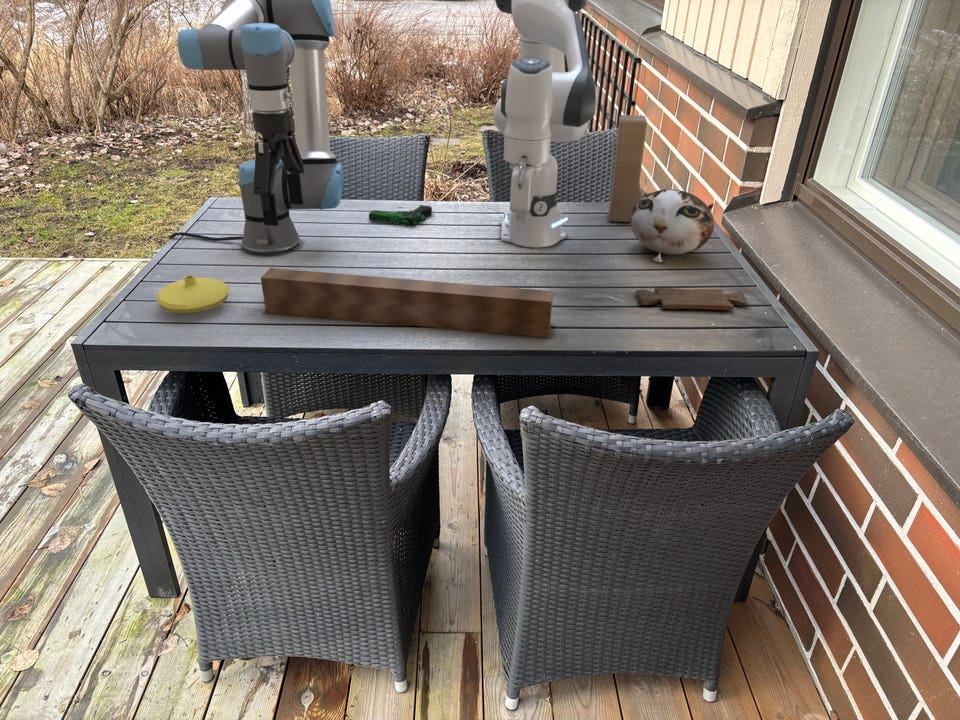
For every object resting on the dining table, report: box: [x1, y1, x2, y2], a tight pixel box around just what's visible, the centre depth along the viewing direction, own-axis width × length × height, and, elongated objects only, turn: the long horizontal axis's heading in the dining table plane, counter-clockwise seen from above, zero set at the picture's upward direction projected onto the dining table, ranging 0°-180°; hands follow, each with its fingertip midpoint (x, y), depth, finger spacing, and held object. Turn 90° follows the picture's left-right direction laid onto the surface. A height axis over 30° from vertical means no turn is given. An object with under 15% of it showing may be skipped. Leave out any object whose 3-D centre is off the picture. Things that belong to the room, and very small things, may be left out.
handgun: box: [368, 204, 433, 227], centre depth 216 cm, size 16×3×15 cm
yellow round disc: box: [155, 274, 230, 315], centre depth 163 cm, size 16×16×7 cm
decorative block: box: [608, 114, 651, 223], centre depth 211 cm, size 8×15×30 cm, turn 82°
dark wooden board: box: [635, 287, 748, 311], centre depth 169 cm, size 26×2×10 cm
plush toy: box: [629, 188, 715, 263], centre depth 192 cm, size 22×18×20 cm
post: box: [260, 267, 554, 339], centre depth 158 cm, size 64×5×9 cm, turn 81°
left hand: (284, 214), depth 152 cm, fingers open, 13 cm apart
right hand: (523, 219), depth 144 cm, fingers open, 8 cm apart
